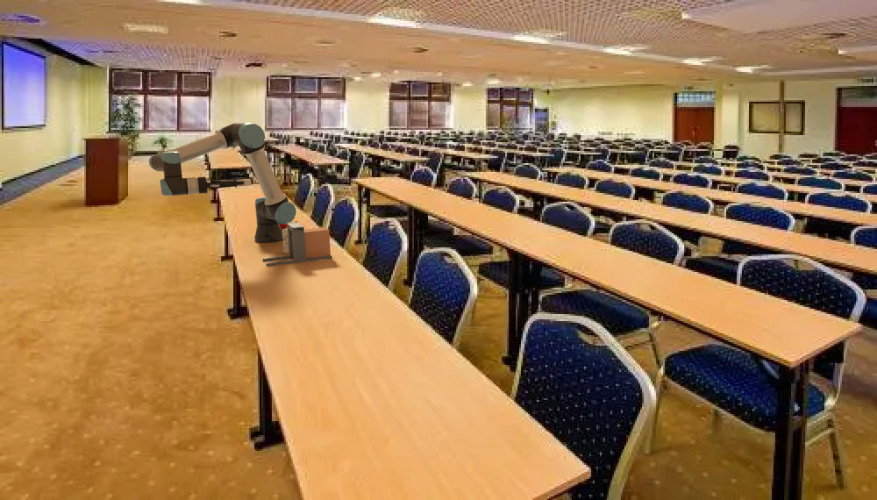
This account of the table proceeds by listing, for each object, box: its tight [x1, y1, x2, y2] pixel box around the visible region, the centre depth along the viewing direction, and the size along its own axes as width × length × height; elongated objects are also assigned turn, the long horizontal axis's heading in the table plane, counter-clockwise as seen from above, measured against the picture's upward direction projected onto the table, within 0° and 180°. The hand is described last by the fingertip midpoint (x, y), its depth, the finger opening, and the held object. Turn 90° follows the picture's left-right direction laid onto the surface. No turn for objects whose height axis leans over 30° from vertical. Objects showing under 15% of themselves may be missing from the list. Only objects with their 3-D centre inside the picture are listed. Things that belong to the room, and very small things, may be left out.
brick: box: [292, 226, 332, 259], centre depth 286 cm, size 16×7×13 cm, turn 115°
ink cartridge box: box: [282, 220, 298, 254], centre depth 300 cm, size 9×5×15 cm, turn 168°
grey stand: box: [261, 221, 333, 267], centre depth 283 cm, size 30×13×16 cm, turn 115°
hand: (250, 182), depth 289 cm, fingers closed
